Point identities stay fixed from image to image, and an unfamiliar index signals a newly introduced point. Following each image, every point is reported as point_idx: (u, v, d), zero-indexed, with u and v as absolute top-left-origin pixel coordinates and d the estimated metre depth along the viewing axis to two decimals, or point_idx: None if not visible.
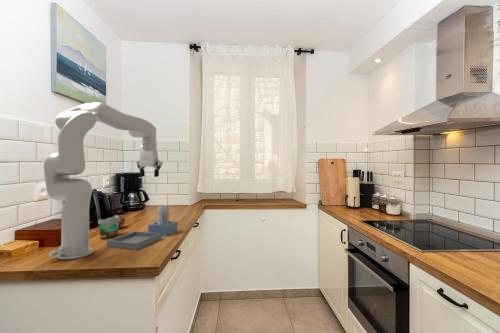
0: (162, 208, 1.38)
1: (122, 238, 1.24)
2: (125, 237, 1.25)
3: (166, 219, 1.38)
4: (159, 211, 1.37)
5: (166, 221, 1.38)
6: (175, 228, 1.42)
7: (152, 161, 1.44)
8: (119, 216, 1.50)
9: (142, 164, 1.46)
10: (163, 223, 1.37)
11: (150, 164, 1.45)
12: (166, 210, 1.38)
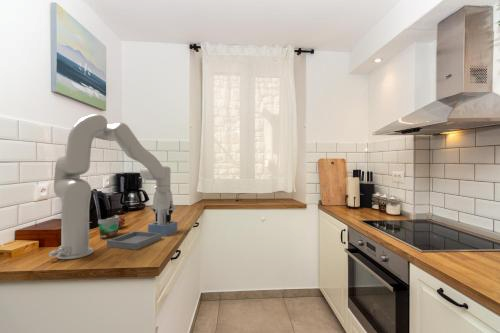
0: None
1: (122, 238, 1.24)
2: (125, 237, 1.25)
3: None
4: (159, 211, 1.37)
5: None
6: (175, 228, 1.42)
7: (166, 204, 1.36)
8: (119, 216, 1.50)
9: (156, 207, 1.38)
10: (163, 223, 1.37)
11: (164, 207, 1.37)
12: None
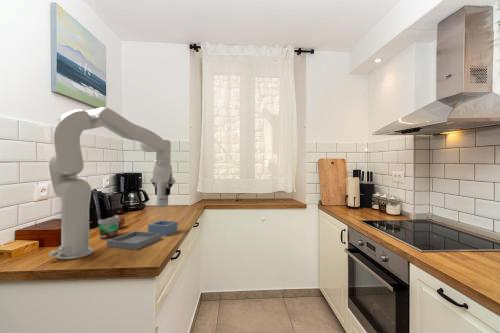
0: None
1: (122, 238, 1.24)
2: (125, 237, 1.25)
3: (165, 192, 1.38)
4: (159, 184, 1.37)
5: (165, 194, 1.38)
6: (175, 228, 1.42)
7: (166, 177, 1.36)
8: (119, 216, 1.50)
9: (155, 180, 1.38)
10: (162, 196, 1.37)
11: (164, 180, 1.36)
12: None
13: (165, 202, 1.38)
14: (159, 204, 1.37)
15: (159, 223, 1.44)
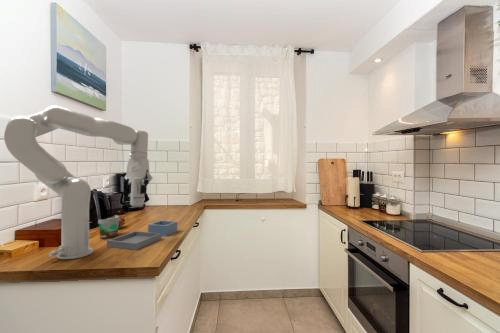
0: None
1: (122, 238, 1.24)
2: (125, 237, 1.25)
3: (140, 189, 1.22)
4: (133, 180, 1.21)
5: None
6: (175, 228, 1.42)
7: (141, 173, 1.20)
8: (119, 216, 1.50)
9: (129, 176, 1.22)
10: (137, 194, 1.21)
11: (139, 176, 1.20)
12: None
13: (140, 201, 1.22)
14: (133, 203, 1.21)
15: (159, 223, 1.44)
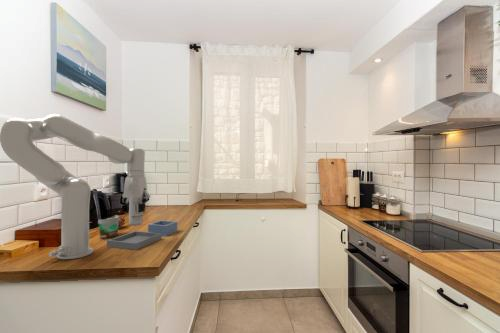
0: None
1: (122, 238, 1.24)
2: (125, 237, 1.25)
3: None
4: (131, 199, 1.20)
5: None
6: (175, 228, 1.42)
7: (139, 192, 1.19)
8: (119, 216, 1.50)
9: (127, 195, 1.20)
10: (135, 213, 1.20)
11: (136, 195, 1.19)
12: None
13: (139, 220, 1.21)
14: (132, 222, 1.20)
15: (159, 223, 1.44)
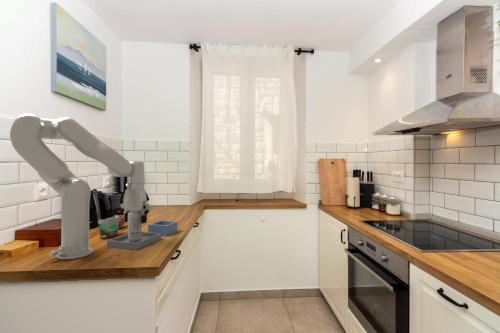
0: (133, 212, 1.20)
1: (122, 238, 1.24)
2: (125, 237, 1.25)
3: (137, 225, 1.20)
4: (129, 216, 1.19)
5: (138, 227, 1.20)
6: (175, 228, 1.42)
7: (138, 205, 1.19)
8: (119, 216, 1.50)
9: (127, 208, 1.20)
10: (134, 230, 1.19)
11: (136, 208, 1.19)
12: (137, 215, 1.20)
13: (137, 236, 1.20)
14: (130, 239, 1.19)
15: (159, 223, 1.44)
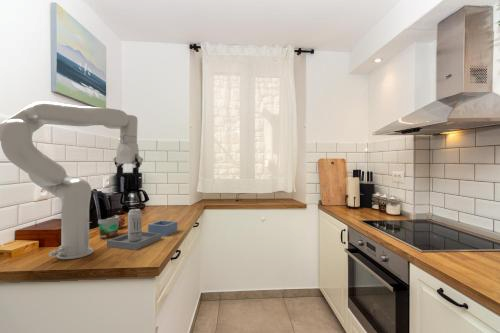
0: (133, 212, 1.20)
1: (122, 238, 1.24)
2: (125, 237, 1.25)
3: (137, 225, 1.20)
4: (129, 216, 1.20)
5: (138, 227, 1.20)
6: (175, 228, 1.42)
7: (130, 157, 1.20)
8: (119, 216, 1.50)
9: (119, 160, 1.22)
10: (134, 230, 1.19)
11: (128, 160, 1.20)
12: (138, 215, 1.20)
13: (137, 236, 1.20)
14: (130, 239, 1.19)
15: (159, 223, 1.44)
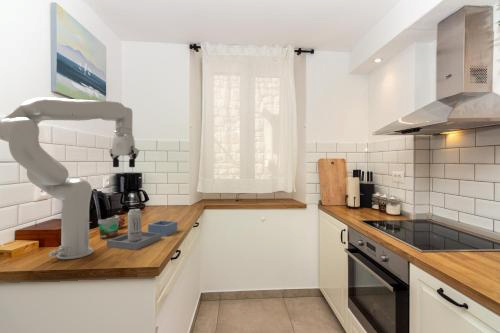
0: (133, 212, 1.20)
1: (122, 238, 1.24)
2: (125, 237, 1.25)
3: (137, 225, 1.20)
4: (129, 216, 1.19)
5: (138, 227, 1.20)
6: (175, 228, 1.42)
7: (126, 149, 1.22)
8: (119, 216, 1.50)
9: (115, 152, 1.24)
10: (134, 230, 1.19)
11: (124, 152, 1.22)
12: (137, 215, 1.20)
13: (137, 236, 1.20)
14: (130, 239, 1.19)
15: (159, 223, 1.44)
